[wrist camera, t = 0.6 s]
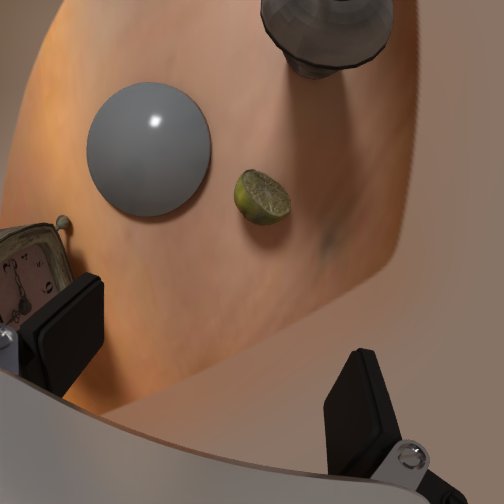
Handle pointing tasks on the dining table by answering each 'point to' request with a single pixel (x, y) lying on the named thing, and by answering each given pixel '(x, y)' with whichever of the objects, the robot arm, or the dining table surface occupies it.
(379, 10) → the beverage cup
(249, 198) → the lime
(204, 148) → the slate plate
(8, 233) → the tabletop clock
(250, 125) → the dining table surface
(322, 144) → the dining table surface
